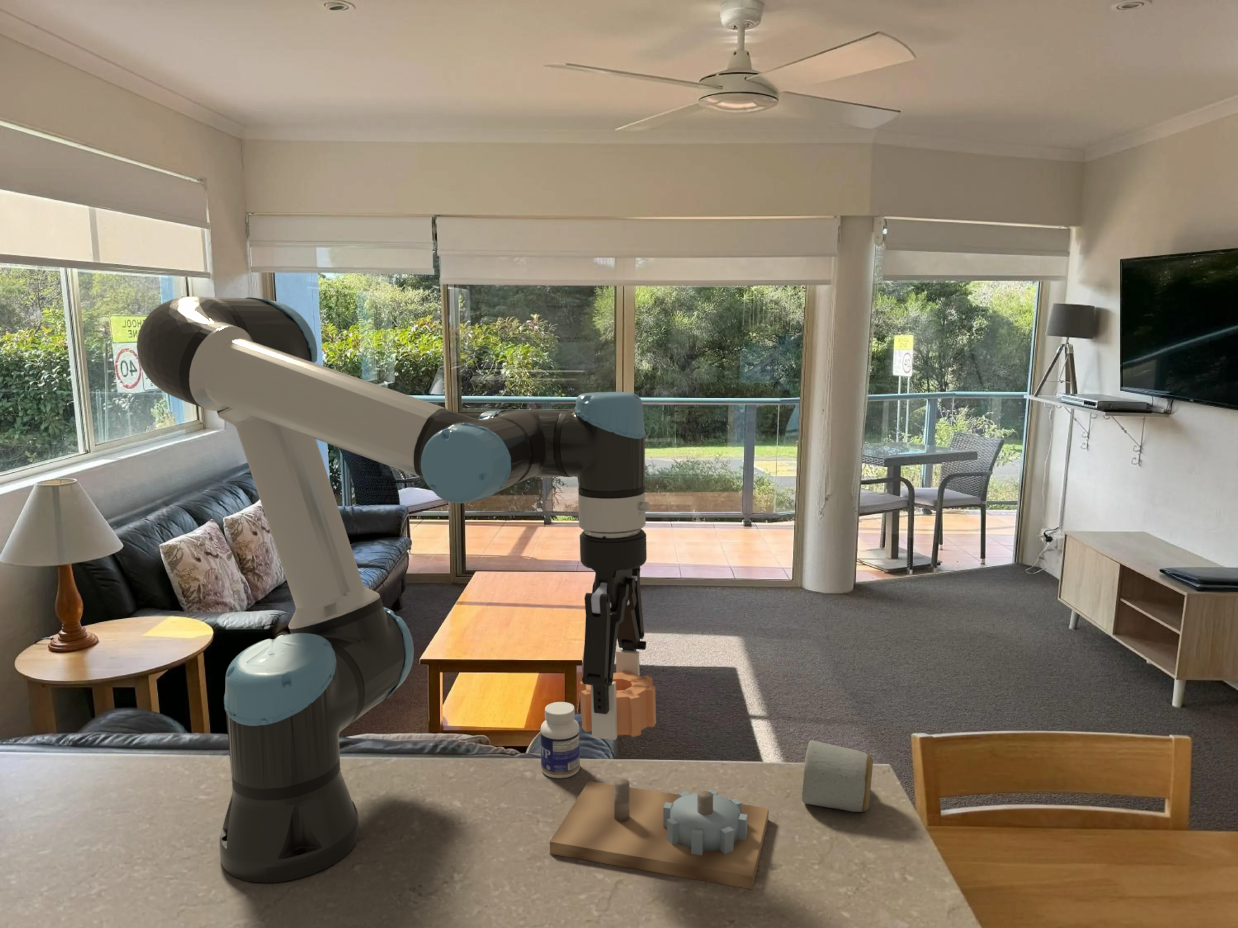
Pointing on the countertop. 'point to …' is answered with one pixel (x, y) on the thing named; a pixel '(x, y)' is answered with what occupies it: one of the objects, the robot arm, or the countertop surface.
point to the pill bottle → (560, 741)
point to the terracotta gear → (625, 703)
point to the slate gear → (705, 823)
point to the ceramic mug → (837, 777)
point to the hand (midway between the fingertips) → (617, 719)
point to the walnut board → (652, 835)
